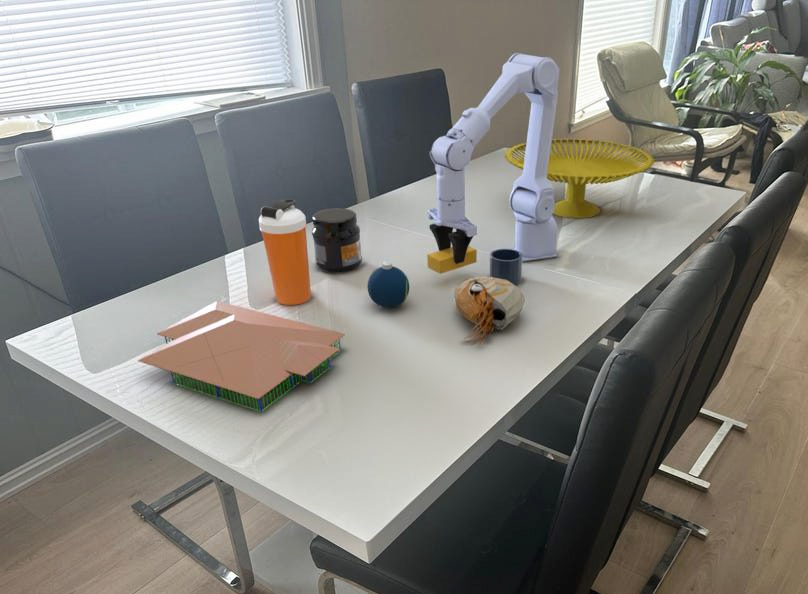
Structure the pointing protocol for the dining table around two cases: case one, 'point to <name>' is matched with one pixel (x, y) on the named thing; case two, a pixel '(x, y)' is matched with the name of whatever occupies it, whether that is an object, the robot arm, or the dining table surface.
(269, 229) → the shaker bottle
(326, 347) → the house
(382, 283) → the christmas ornament
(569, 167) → the cake stand
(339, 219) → the supplement container
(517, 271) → the espresso cup
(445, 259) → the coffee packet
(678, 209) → the dining table surface
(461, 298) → the nautilus
